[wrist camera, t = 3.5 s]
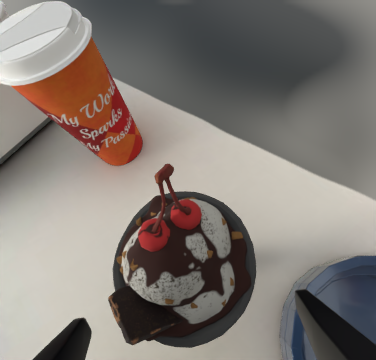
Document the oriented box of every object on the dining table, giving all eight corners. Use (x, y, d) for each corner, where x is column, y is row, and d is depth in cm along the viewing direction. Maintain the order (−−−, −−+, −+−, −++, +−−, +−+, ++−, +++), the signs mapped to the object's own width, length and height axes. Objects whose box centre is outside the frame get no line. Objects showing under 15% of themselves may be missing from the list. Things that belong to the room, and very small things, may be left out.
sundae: (222, 219, 20) (210, 102, 7) (255, 294, 17) (355, 348, 4) (159, 244, 20) (24, 176, 7) (181, 323, 17) (9, 485, 4)
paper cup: (108, 185, 24) (-19, 86, 12) (85, 145, 27) (-33, 35, 15) (163, 147, 25) (98, 18, 13) (134, 113, 28) (61, -15, 16)
